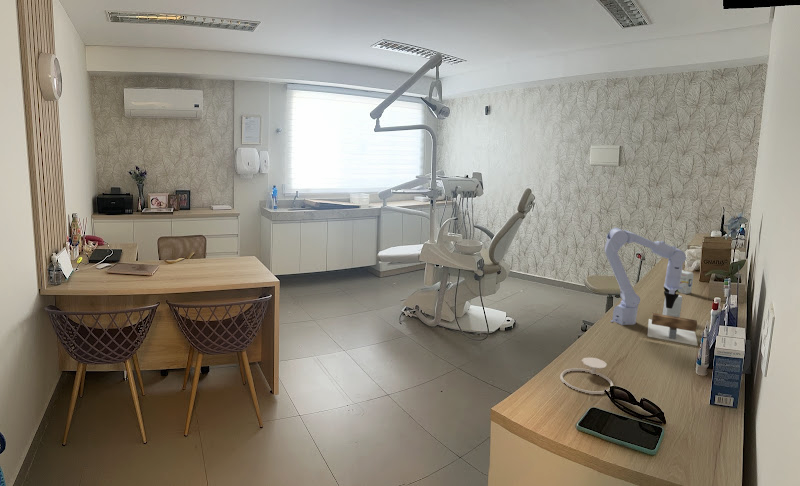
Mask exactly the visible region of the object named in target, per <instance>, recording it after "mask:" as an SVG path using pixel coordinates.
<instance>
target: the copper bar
mask: <svg viewBox="0 0 800 486" xmlns="http://www.w3.org/2000/svg"><path fill="white" fill-rule="evenodd" d="M652 324H655V325H660V326H666V327H671V328H677V329H682V330H688V331H694V332H695V333H696V331H697V326H698V321H697V319H690V318H687V317H686V318H685V317H684V318H683V317H681V316H680V317H674V316H668V315H663V313H662V314H661V313H655V312H652Z"/></svg>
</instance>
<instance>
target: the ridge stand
mask: <svg viewBox="0 0 800 486" xmlns="http://www.w3.org/2000/svg"><path fill="white" fill-rule="evenodd" d="M647 337H650V338H655V339H658V340H657V341H658V342H659V341H660V340H663V341H662V342H664V343H665V341H670V342H672V344H674V345H675V343H673V342H676V343H677V345H680V344H678V343H681V344H685V345H691V346H693V348H696V347H694V346H697V347H698V340H697V339H698V338H697V335H696V332H694V331H688V330H682V329H677V328H671V327H666V326H660V325H655V324H652V319H651V318H648V324H647ZM646 339H648V338H646ZM648 340H649V339H648ZM664 340H665V341H664ZM670 342H667V343H670ZM691 346H688V347H690V348H691Z"/></svg>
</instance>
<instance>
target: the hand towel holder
mask: <svg viewBox="0 0 800 486" xmlns="http://www.w3.org/2000/svg"><path fill="white" fill-rule="evenodd" d="M581 362H583V363H582V364H583V365H585V366H586V367H587V368H582V367H581V368H580V367H578V368H577V367H573V368H567V369H564V370H563V371H562V372H561V373H560V374H559V378H560V381H561V383H563V384H564V383H565V384H566V385H567V386H566V385H565V384H564V385H565V386H566V387H568V386H569V387H571V388H572V389H571V388H570V389H571V390H573V389H575V390H574V391H576V390H578V391H577V392H579V391H582V392H585V393H584V394H586V393H589V394H588V395H593V394H601V395H605V394H604V391H605V390H600V391H599V390H595V391H593V390H587V389H584V388H583V389H582V388H579V387H577V386H573V385H572V384H570V383H568V382H567V381H566V380H565V379H564V377H565V376H564V375H566V374H567V372H568V373H570V371H572V372H582V371H585V372H584V373H588V372H589V374H591V375H593V374H596V376H598V375H599V376H598V377H601V378H603V379H604V380H605V381H607V382H608V383H609V384H610V385H609V386H614V387H615V385H614V382H613V381H612V379H610V378H609V377H608V376H607V375H605V374H603V373H601V372H599V371H597V370H599V369H600V370H601V369H604V368H606V367H607V365H608V363H606V361H604V360H602V359H599V358H597V357H583V358H582V359H581ZM588 368H590V369H588ZM569 387H568V388H569ZM609 389H610V387H609V388H608V389H606V391H609ZM582 392H581V393H582Z"/></svg>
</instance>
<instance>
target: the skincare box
mask: <svg viewBox="0 0 800 486" xmlns="http://www.w3.org/2000/svg"><path fill="white" fill-rule="evenodd" d="M663 301H664V303H663V309H662V315H668V316H674V317H680V318H681V311H682V303H683V296H682V295H680V294H679V296H678V297H677V298H676V300H675V302H674V305H673V307H672V309H670V308H666V298H665V297H664V300H663Z"/></svg>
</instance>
